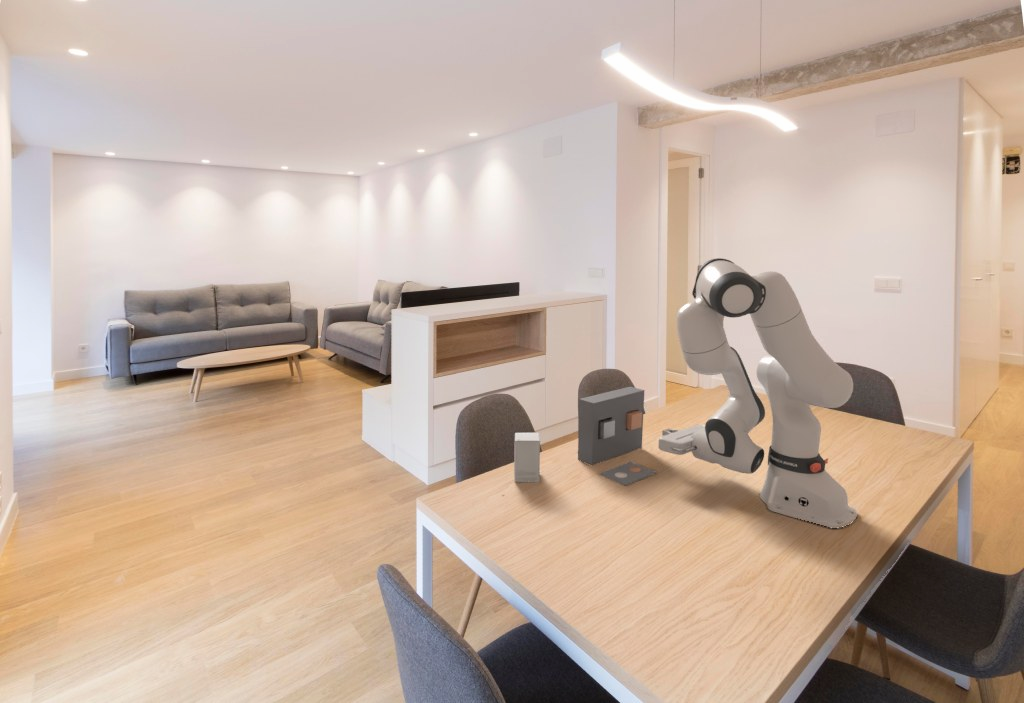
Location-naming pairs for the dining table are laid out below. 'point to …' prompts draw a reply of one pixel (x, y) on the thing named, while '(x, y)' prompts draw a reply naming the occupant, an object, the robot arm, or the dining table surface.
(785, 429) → the robot arm
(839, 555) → the dining table surface
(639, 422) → the button terracotta
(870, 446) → the dining table surface
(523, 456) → the supplement box
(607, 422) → the grey button
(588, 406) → the panel
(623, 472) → the pattern card
